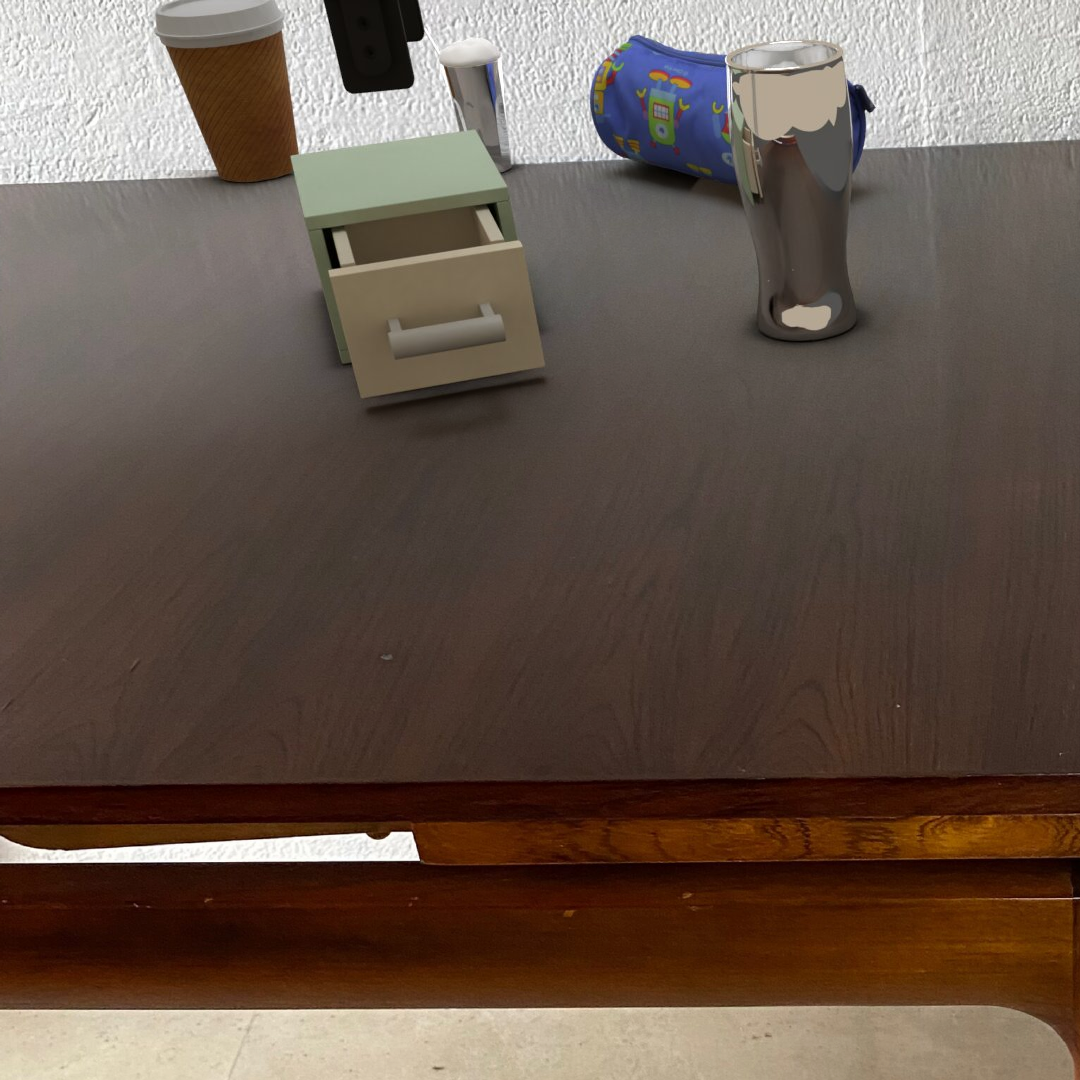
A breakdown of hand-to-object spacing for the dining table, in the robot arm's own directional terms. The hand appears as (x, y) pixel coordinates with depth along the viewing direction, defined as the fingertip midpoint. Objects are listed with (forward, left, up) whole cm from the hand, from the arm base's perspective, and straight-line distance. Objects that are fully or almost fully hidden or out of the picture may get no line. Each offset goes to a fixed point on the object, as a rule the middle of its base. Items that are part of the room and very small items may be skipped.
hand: (387, 64), depth 84 cm
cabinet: (+10, +16, -18) cm, 26 cm away
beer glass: (+22, -6, -18) cm, 29 cm away
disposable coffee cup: (+22, +54, -18) cm, 61 cm away
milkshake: (+32, +38, -18) cm, 53 cm away
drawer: (+4, +7, -17) cm, 19 cm away
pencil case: (+39, +19, -18) cm, 47 cm away
